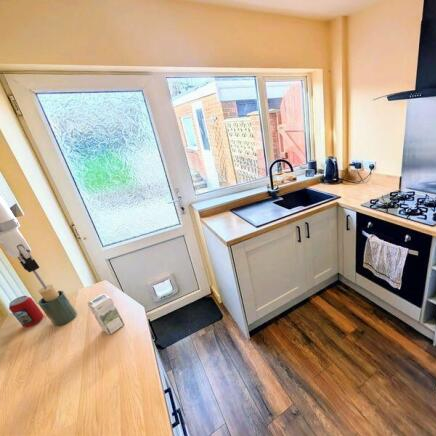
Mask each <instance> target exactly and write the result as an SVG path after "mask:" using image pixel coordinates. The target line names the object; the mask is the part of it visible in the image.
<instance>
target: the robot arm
mask: <svg viewBox="0 0 436 436" xmlns="http://www.w3.org/2000/svg"><path fill="white" fill-rule="evenodd" d="M20 227H21V224H20V222H19V221H18V219H17V217H15V215H14V213H13V212H12V210H11V208H10V207H9V205H8V204H7V202H6V201H5V200H4V197H3V196H2V195H1V194H0V245H1V246H2V248H3V249H4V251H5V253H6V254H7V255H8V256H9V257H11V258H12V259H15V260H16V259H17V260H18V261H19V263H20V265H21V267H22V268H23V269H24V270H25V271H27V272H28V273H31V272H32V273H33V271H34V270H36V271H37V270H39V269H40V266H39V264H38V263H37V261H36V259H35V258H34V257H33V256H32V255H31V253H32V248H31V247H30V245H29V244H28V242H27V240H26V238H25V237H24V236H23V234H22V233H21V231H20V230H19V228H20ZM22 257H23V258H22Z"/></svg>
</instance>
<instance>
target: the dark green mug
mask: <svg viewBox="0 0 436 436" xmlns="http://www.w3.org/2000/svg"><path fill="white" fill-rule="evenodd" d="M57 292H58V293H59V297H57V298H56V299H54V300H52V301H49V302H46V301H45V300H44V298H43V297H41V299H40V300H39V301H38V303H37V304H38V305H39V308H41V309H42V311H43V312H44V314H45V315H46V316H47V318H48V319H49V321H50V322H51V324H52V325H53V326H54V327H62V326H64V325H65V326H66V325H67V324H69V323H70V322H72V321H74V319H75V318H76V317H77V316H78V312H77V310H76V309H75V307H74V305H73V304H72V302H71V301H70V299H69V298H68V296H67V295H66V293H65V291H63V290H57Z"/></svg>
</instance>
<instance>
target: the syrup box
mask: <svg viewBox="0 0 436 436" xmlns="http://www.w3.org/2000/svg"><path fill="white" fill-rule="evenodd" d="M87 306H88V307H89V309H90V311H91V313H92V314H93V316H94V317H95V319H96V321H97V323H98V325H99V326H100V328H101V330H102V331H103V332H105V333H106V334H108V336H111V335H113V334H114V333H115V332H117V331H118V330H120V329H121V328H122V327H123V326H125V322H124V320H123V319H122V316H121V314H120V312H119V311H118V309H117V307H116V305H115V303H114V301H113V299H112V297H110V296H108V295H107V294H105V293H102V294H100V295H98V296H96V297H94V298H93V299H91V300H90V301H88V302H87Z"/></svg>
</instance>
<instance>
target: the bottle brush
mask: <svg viewBox="0 0 436 436" xmlns="http://www.w3.org/2000/svg"><path fill="white" fill-rule="evenodd" d="M22 258H23V257H22ZM32 273H33V274H34V275H35V277H36V278H37V280H38V281H39V283H40V284H41V286H42V287H41V288H39V290H38V293H39V294H40V295H41V298H44V300H45V301H46V302H49V301H52V300H54V299H56V298H57V297H59V293H58V292H57V291H58V290H57V289H56V287H55V285H54V284H47V285H46V283H45V282H44V280H43V279H42V277H41V276H40V274H39V273H38V271H37V269H36V270H34V271H32Z"/></svg>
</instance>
